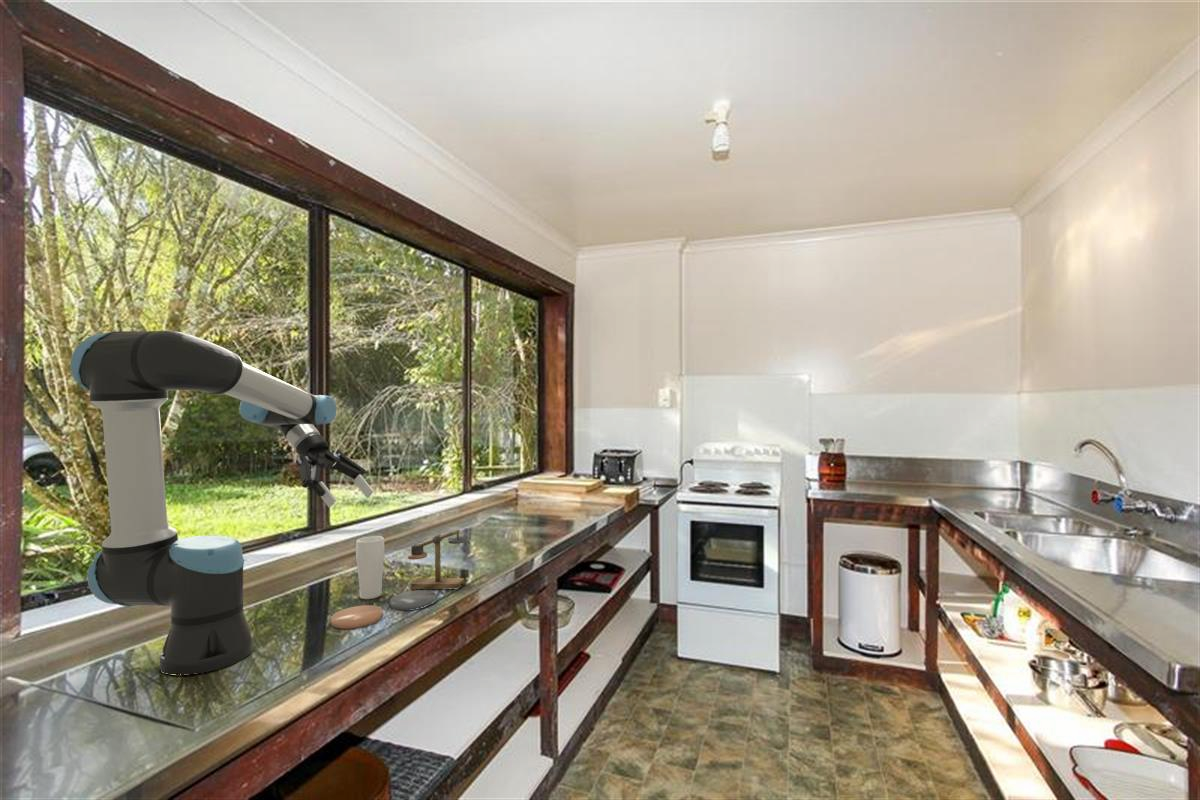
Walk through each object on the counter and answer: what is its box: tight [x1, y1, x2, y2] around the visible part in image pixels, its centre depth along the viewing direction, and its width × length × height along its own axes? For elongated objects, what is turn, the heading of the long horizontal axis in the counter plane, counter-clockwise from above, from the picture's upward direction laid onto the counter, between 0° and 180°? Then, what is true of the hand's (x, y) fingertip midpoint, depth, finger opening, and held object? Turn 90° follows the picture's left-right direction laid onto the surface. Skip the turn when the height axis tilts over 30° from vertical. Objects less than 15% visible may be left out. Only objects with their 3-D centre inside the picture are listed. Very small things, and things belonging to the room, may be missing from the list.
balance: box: [407, 529, 468, 591], centre depth 150 cm, size 16×5×16 cm, turn 87°
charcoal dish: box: [389, 590, 437, 611], centre depth 138 cm, size 11×11×1 cm
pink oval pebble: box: [330, 604, 384, 630], centre depth 127 cm, size 11×11×1 cm
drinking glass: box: [355, 535, 385, 600], centre depth 142 cm, size 7×7×15 cm
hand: (352, 499), depth 147 cm, fingers open, 13 cm apart
